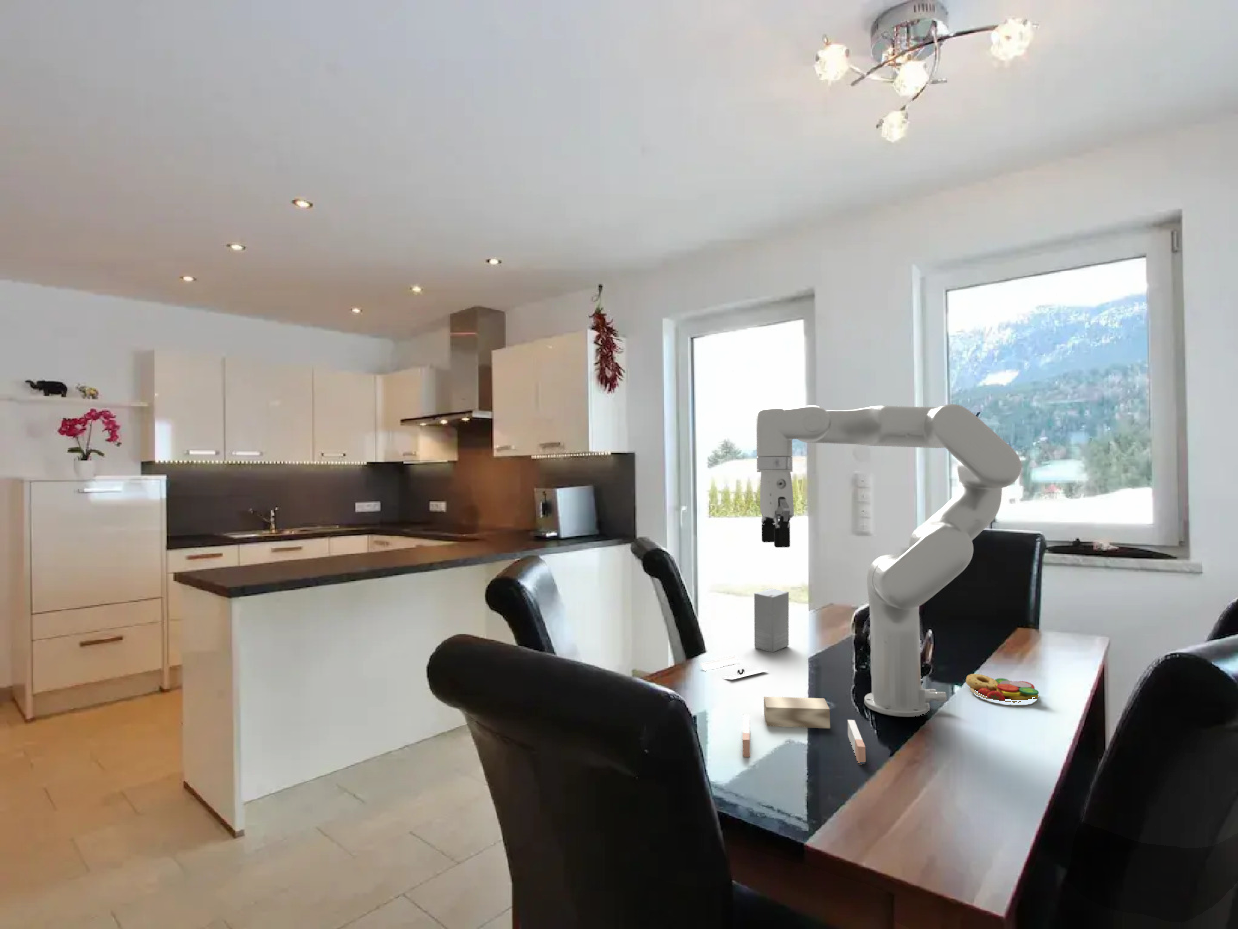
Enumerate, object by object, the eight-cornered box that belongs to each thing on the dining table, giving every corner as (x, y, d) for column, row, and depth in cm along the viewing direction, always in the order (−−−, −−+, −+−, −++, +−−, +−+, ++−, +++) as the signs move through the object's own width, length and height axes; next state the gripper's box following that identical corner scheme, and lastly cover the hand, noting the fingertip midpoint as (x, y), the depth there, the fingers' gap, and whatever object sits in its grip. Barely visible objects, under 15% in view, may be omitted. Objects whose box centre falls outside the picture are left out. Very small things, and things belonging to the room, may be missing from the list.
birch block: (824, 718, 133) (824, 698, 133) (830, 729, 127) (829, 709, 127) (764, 716, 134) (763, 696, 134) (766, 727, 128) (766, 707, 129)
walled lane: (854, 736, 123) (854, 720, 123) (865, 764, 111) (865, 746, 111) (743, 730, 127) (743, 714, 127) (742, 756, 115) (742, 739, 115)
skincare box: (770, 642, 190) (768, 587, 190) (791, 647, 184) (790, 590, 185) (752, 648, 184) (751, 591, 184) (774, 653, 179) (773, 595, 179)
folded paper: (732, 684, 155) (732, 675, 155) (699, 671, 166) (699, 663, 166) (769, 675, 162) (769, 667, 162) (735, 663, 172) (735, 655, 172)
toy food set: (961, 686, 150) (961, 671, 150) (1025, 689, 148) (1025, 674, 148) (981, 706, 137) (980, 691, 137) (1051, 710, 134) (1051, 694, 134)
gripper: (804, 464, 133) (805, 549, 133) (780, 465, 151) (780, 540, 151) (768, 465, 133) (769, 549, 133) (747, 465, 150) (748, 540, 150)
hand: (775, 544), depth 142 cm, fingers open, 9 cm apart
